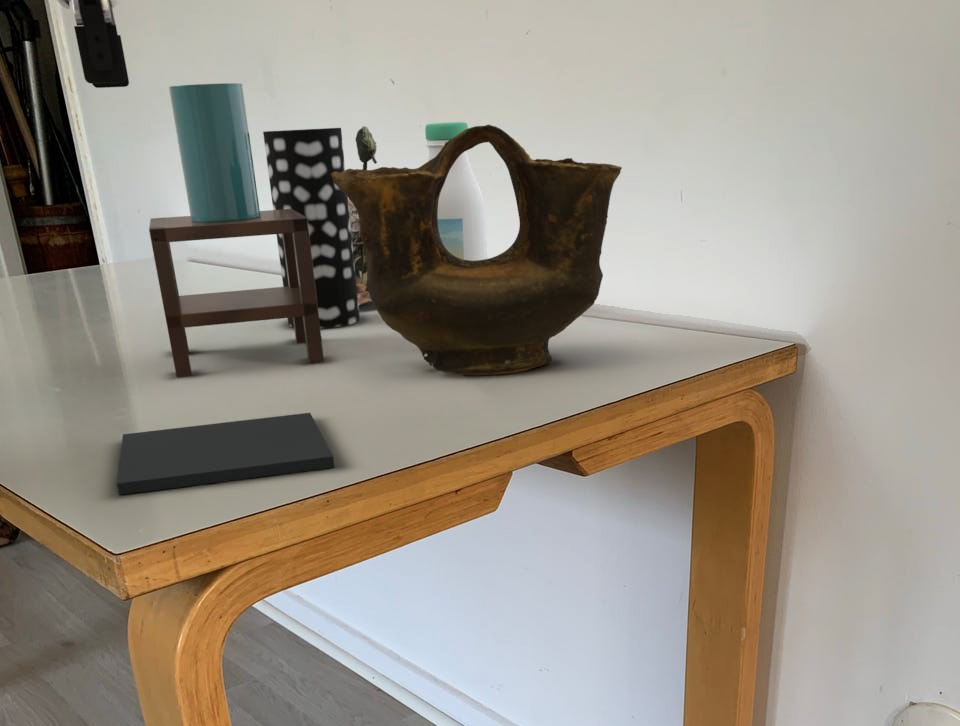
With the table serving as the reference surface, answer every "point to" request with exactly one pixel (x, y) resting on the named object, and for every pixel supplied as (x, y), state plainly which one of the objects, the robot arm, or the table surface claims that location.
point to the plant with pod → (365, 153)
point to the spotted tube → (317, 214)
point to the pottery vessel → (491, 282)
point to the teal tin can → (215, 151)
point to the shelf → (244, 303)
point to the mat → (221, 453)
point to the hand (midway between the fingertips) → (108, 84)
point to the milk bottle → (458, 199)
